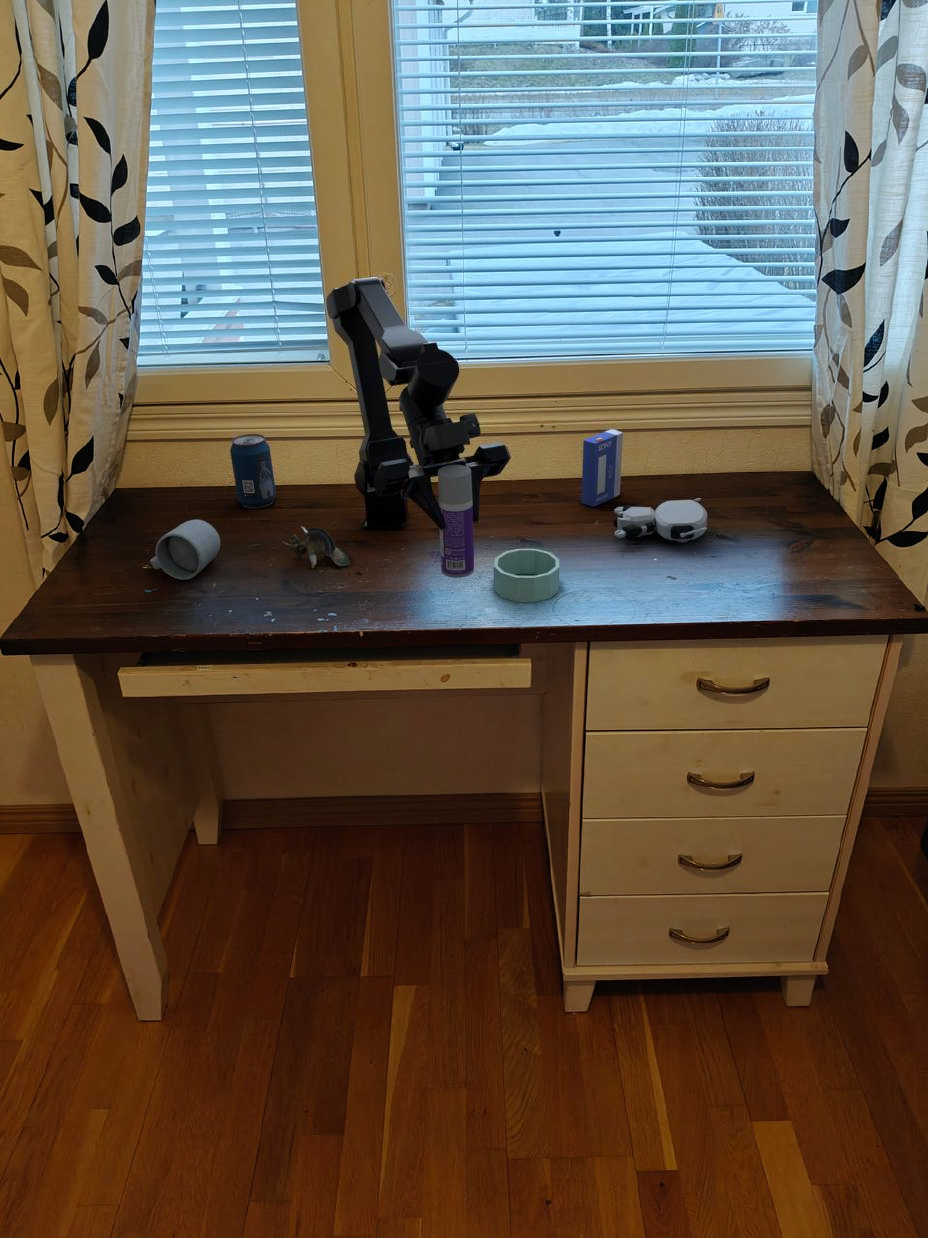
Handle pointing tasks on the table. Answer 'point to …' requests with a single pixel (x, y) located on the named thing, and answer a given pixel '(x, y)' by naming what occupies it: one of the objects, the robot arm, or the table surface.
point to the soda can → (253, 471)
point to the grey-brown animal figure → (317, 546)
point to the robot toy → (662, 520)
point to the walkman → (601, 467)
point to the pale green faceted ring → (526, 586)
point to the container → (456, 521)
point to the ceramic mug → (187, 549)
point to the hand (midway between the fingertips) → (459, 525)
